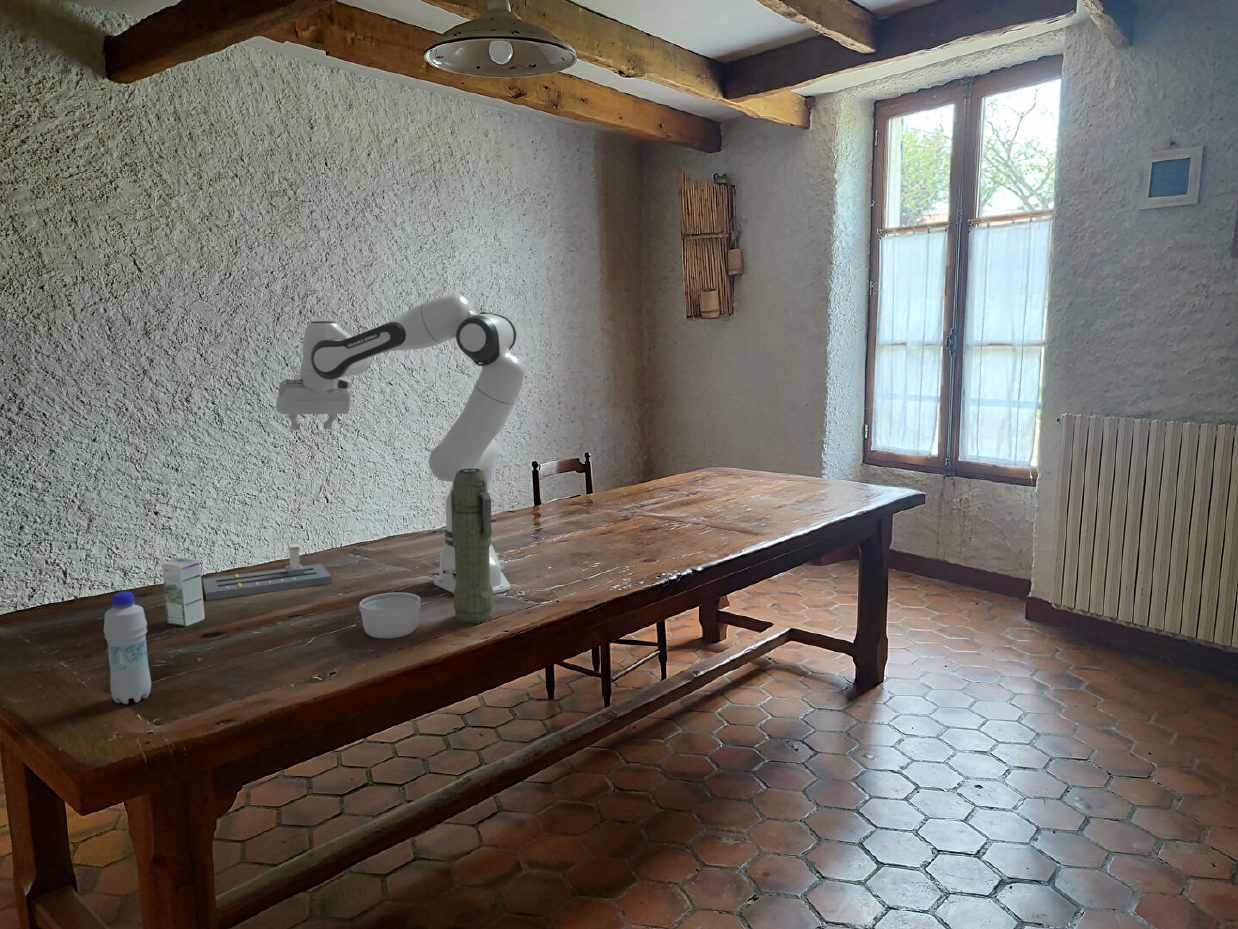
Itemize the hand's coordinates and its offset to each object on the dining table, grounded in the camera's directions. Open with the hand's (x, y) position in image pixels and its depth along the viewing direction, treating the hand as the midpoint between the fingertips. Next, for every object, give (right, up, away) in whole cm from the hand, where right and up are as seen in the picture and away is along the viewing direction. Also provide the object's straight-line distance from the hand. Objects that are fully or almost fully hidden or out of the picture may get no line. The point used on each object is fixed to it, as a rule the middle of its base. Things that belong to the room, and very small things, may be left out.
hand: (311, 429), depth 226 cm
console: (-9, -42, -7) cm, 43 cm away
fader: (-3, -39, -4) cm, 39 cm away
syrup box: (-16, -46, -35) cm, 60 cm away
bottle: (-4, -52, -76) cm, 93 cm away
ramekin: (+33, -47, -41) cm, 71 cm away
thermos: (+50, -46, -33) cm, 75 cm away
